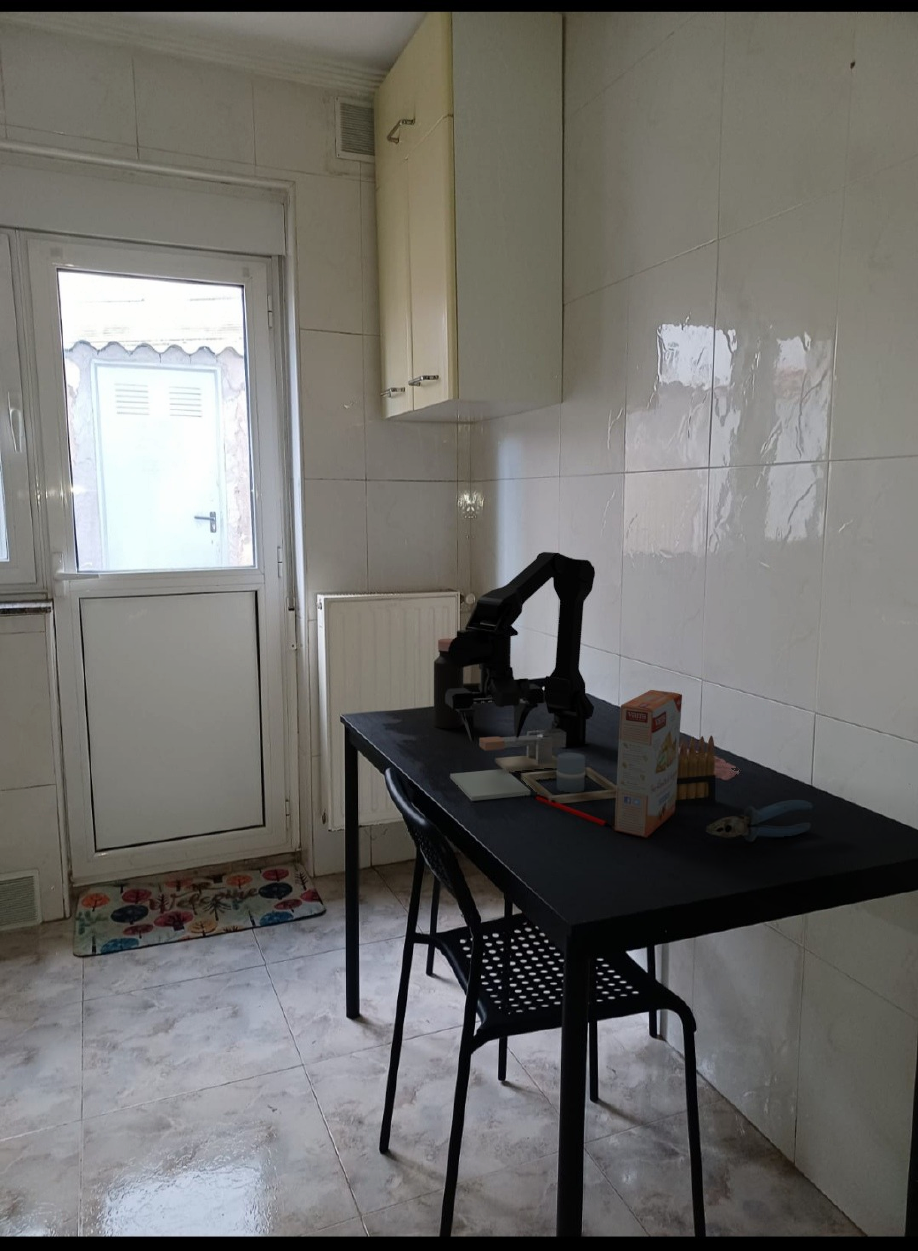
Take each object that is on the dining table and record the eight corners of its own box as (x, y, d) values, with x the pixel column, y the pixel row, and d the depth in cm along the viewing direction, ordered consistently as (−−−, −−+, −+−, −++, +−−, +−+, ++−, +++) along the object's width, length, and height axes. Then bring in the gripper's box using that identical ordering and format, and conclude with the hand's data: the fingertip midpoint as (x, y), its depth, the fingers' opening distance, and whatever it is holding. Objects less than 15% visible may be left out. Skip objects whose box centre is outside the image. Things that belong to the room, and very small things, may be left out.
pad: (505, 773, 169) (505, 769, 169) (530, 795, 157) (530, 790, 157) (450, 778, 166) (450, 773, 166) (471, 801, 154) (471, 796, 154)
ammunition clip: (660, 808, 151) (663, 740, 149) (655, 804, 153) (658, 737, 151) (715, 803, 154) (719, 736, 152) (709, 799, 156) (713, 733, 154)
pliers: (710, 853, 132) (712, 815, 131) (701, 848, 134) (703, 811, 133) (813, 835, 140) (816, 799, 139) (803, 830, 142) (806, 795, 141)
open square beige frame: (588, 773, 170) (588, 767, 169) (622, 797, 156) (623, 790, 156) (520, 779, 165) (520, 773, 165) (550, 804, 152) (550, 798, 152)
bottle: (445, 720, 208) (445, 636, 205) (468, 724, 204) (469, 639, 201) (427, 726, 203) (428, 640, 200) (451, 730, 199) (452, 643, 196)
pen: (533, 797, 157) (533, 791, 156) (615, 829, 142) (615, 823, 142) (529, 798, 156) (529, 792, 156) (611, 831, 142) (612, 824, 141)
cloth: (741, 787, 164) (742, 775, 164) (623, 774, 171) (624, 762, 171) (743, 757, 183) (744, 746, 183) (637, 746, 190) (638, 735, 190)
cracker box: (649, 840, 137) (654, 709, 134) (612, 832, 140) (617, 704, 137) (678, 813, 149) (683, 692, 146) (644, 806, 152) (648, 687, 149)
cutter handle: (559, 742, 178) (559, 728, 177) (566, 747, 174) (566, 732, 174) (479, 749, 173) (479, 734, 172) (485, 754, 169) (485, 739, 169)
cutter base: (550, 757, 180) (551, 728, 179) (564, 767, 173) (565, 737, 172) (495, 762, 176) (495, 733, 175) (507, 772, 169) (507, 742, 168)
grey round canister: (577, 782, 164) (578, 751, 163) (589, 791, 159) (590, 759, 158) (551, 785, 163) (552, 753, 162) (563, 794, 158) (564, 762, 157)
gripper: (462, 671, 159) (461, 754, 161) (557, 665, 164) (555, 746, 167) (444, 660, 169) (444, 738, 172) (534, 655, 175) (533, 731, 177)
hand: (494, 739), depth 171 cm, fingers open, 9 cm apart
